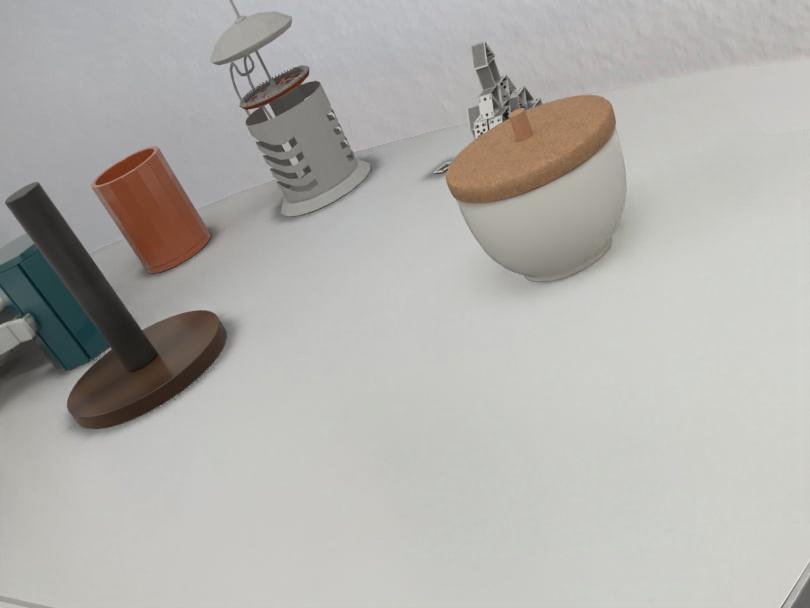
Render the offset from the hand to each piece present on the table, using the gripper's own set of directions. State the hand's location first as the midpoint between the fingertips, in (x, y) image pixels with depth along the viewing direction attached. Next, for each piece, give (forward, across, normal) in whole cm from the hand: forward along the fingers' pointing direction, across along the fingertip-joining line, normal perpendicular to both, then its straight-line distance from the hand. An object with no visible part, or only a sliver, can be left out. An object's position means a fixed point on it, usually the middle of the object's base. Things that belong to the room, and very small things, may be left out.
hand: (58, 298), depth 87 cm
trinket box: (+48, -4, +5) cm, 48 cm away
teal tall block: (-1, 0, +5) cm, 5 cm away
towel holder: (+12, -7, +5) cm, 15 cm away
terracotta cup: (0, +17, +5) cm, 17 cm away
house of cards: (+34, +21, +5) cm, 40 cm away
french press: (+15, +22, +5) cm, 27 cm away
